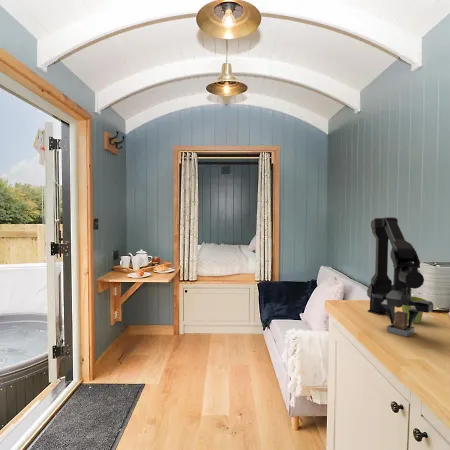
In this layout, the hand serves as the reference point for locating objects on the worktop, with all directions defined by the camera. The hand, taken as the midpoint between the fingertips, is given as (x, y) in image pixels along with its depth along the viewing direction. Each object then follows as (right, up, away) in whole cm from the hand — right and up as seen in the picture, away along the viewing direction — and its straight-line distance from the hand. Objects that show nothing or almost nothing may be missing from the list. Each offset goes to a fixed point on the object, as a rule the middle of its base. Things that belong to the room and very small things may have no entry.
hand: (400, 325), depth 126 cm
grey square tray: (0, -2, 0) cm, 2 cm away
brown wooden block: (0, -2, 0) cm, 2 cm away
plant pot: (+11, -2, +13) cm, 17 cm away
